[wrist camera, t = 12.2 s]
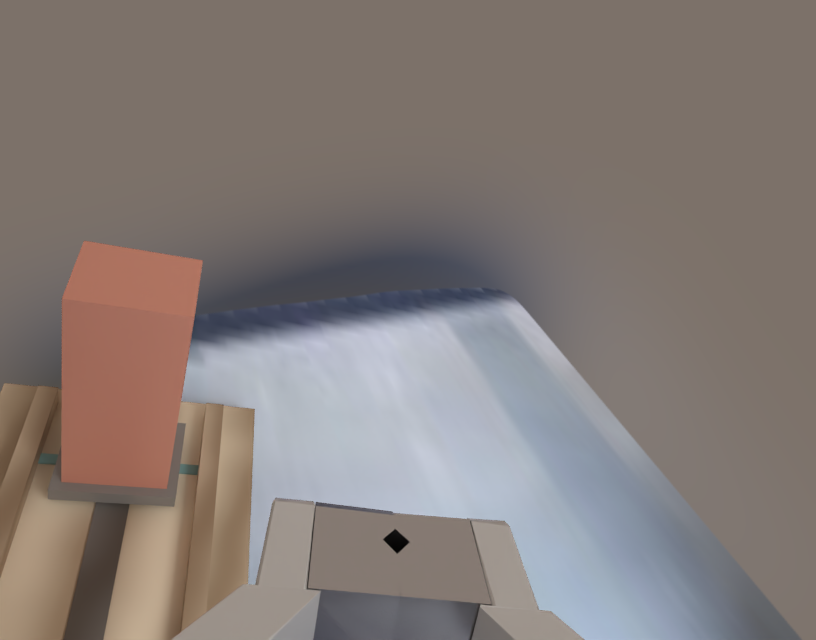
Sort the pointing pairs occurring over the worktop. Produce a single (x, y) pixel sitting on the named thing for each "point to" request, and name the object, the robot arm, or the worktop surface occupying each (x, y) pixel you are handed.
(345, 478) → the worktop surface
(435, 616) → the robot arm
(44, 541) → the tan flat ridged board
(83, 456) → the salmon orange rectangular block
